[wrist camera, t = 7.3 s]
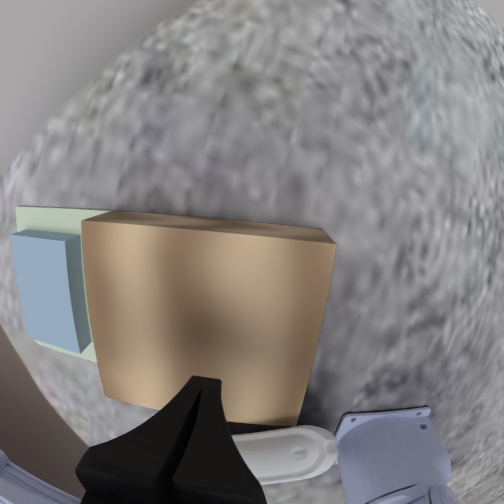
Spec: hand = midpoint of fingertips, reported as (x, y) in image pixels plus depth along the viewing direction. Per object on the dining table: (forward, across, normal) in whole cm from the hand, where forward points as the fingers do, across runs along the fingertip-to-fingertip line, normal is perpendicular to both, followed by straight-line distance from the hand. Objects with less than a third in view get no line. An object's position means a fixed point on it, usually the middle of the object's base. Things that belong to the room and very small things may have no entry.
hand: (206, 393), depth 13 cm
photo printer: (+4, +3, +13) cm, 14 cm away
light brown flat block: (+8, +1, 0) cm, 8 cm away
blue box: (+6, +14, 0) cm, 15 cm away
